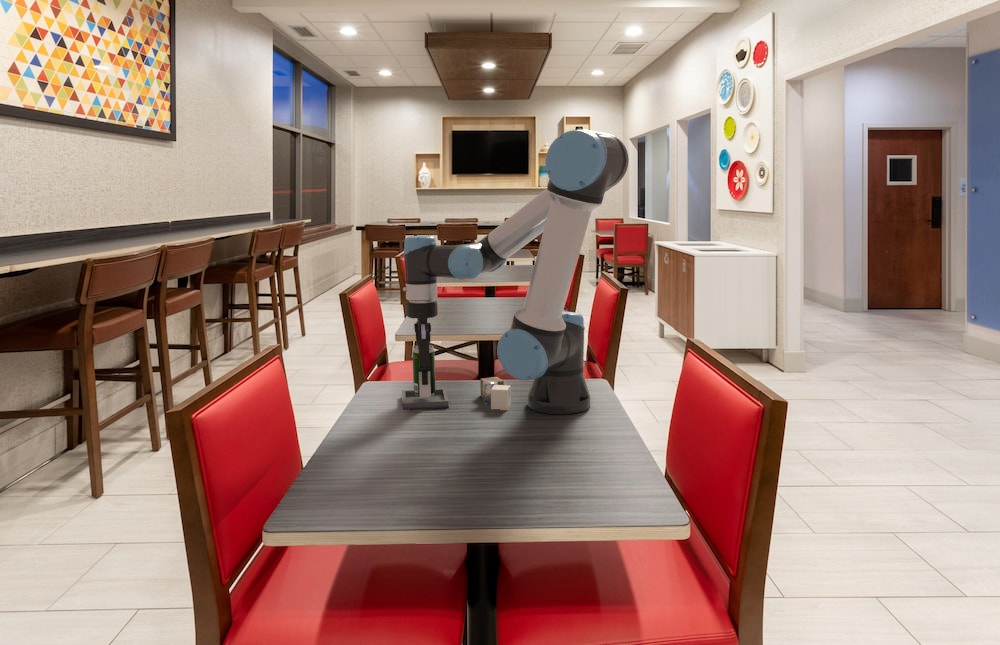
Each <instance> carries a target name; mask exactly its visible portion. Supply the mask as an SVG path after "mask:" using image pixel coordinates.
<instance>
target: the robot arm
mask: <svg viewBox="0 0 1000 645" xmlns="http://www.w3.org/2000/svg"><path fill="white" fill-rule="evenodd" d="M544 161H545V162H544V163H545V164H544V166H545V172H546V173H547V175H548V178H549V179H548V183H547V188H545V189H544V190H542V191H541V192H540V193H539V194H537V195H536V196H535V197H534V198H533V199H531V200H530V201H528V202H527V203H525V205H524V206H522V207H521V208H520V209H518V210H517V211H516V212H514V213H513V214H512V215H511V216H510V217H508V218H507V219H506V220H504V221H503V222H501V223H500V224H499V225H498V226H497V227H496V228H494V229H493V230H492V231H490V232H489V233H488V234H487V235H486V236H484V237H483V238H481V239H480V240H479V241H477V242H471V243H466V244H456V245H443V244H442V245H440V244H437V242H436V241H437V240H436V237H435V236H432V235H410V236H407V237H405V238H404V242H403V249H404V250H403V261H404V274H405V280H404V282H405V287H402V291H403V292H405V299H406V300H407V302H406V303H405V305H406V306H405V307H406V308H405V309H406V310H405V312H406V316H407V317H408V318H409V319H417V321H416V322H415V323H413V326H414V327H413V328H414V329H413V330H414V334H415V342H416V344H417V345H418V347H419V369H416V372H419V392H420V398H421V397H431V383H430V357H429V345H430V343H431V331H432V325H431V322H428V319H430V318H431V319H432V318H435V317H437V316H438V313H439V312H438V310H439V309H438V301H437V299H438V280H437V278H445V279H446V278H447V279H459V280H473V279H476V278H477V277H478V275H480V274H484V273H492V272H495V271H496V270H500V269H501V268H503V267H504V265H505V264H506V263H507V260H508V258H511V256H513V255H514V254H515V253H517V252H518V251H519V250H521V249H522V248H524V247H525V246H526V245H528V244H530V242H531V241H533V240H534V239H536V238H538V236H540V235H541V234H542V235H541V240H540V243H539V246H538V250H537V254H536V257H535V262H534V265H533V269H532V273H531V277H530V281H529V284H528V288H527V292H526V296H525V299H524V303H523V306H522V307H520V308H518V309H517V310H515V312H514V315H513V318H512V322H511V324H510V329H509V330H506V331H505V332H504V333H503V334H502V335H501V337H500V338H499V340H498V341H497V342H498V343H497V346H496V347H497V348H496V349H497V350H496V354H497V358H498V361H499V363H500V364H501V366H502V368H503V370H504V371H505V373H507V374H508V375H510V376H511V377H512V378H514V379H517V380H519V381H531V380H532V382H531V385H530V389H529V391H528V394H527V406H528V408H529V409H530V410H533V411H535V412H539V413H542V414H550V415H569V414H570V415H571V414H572V415H573V414H577V413H582V412H585V411H587V410H589V409H590V408H591V394H590V390H589V389H588V388H589V387H588V384H587V382H586V379H585V376H584V359H585V356H584V355H585V354H584V352H585V351H584V350H585V347H584V346H585V328H586V327H585V321H584V316H583V314H581V313H579V312H574V311H573V312H572V311H564V309H565V307H566V306H565V305H566V302H567V299H568V296H569V292H570V288H571V285H572V281H573V278H574V274H575V271H576V268H577V265H578V260H579V257H580V253H581V250H582V247H583V243H584V239H585V236H586V232H587V229H588V225H589V222H590V218H591V214H592V212H593V211H594V210H595V209H596V208H598V207H600V206H602V204H603V199H604V197H605V193H606V192H608V191H610V189H612V188H614V187H615V186H616V185H617V184H618V183H620V182H621V181H622V179H623V178H624V177H625V176H626V173H627V172H628V168H629V161H630V159H629V152H628V149H627V147H626V146H625V144H624V143H623V142H622V140H621V139H620V138H619V137H617V136H615V135H613V134H611V133H608V132H601V131H594V130H591V129H585V128H578V129H572V130H567V131H566V132H563V133H561V134H560V135H558V136H557V137H556V138H555V139H554V140H553V141H552V142H551V144H550V146H549V147H548V149H547V152H546V155H545V160H544Z"/></svg>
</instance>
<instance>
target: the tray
mask: <svg viewBox="0 0 1000 645" xmlns="http://www.w3.org/2000/svg"><path fill="white" fill-rule="evenodd" d="M401 393H402V394H401V396H402V397H401V398H402V399H401V401H402V402H401V403H402V410H403V411H405V410H423V409H424V410H425V409H440V408H441V409H442V408H444V409H446V408H449V406H450V404H449V397H448V393H447V389H446V387H445V388H443V387H442V388H436V391H435V394H434V395H433V396H431V397H421V398H420V397H418V396H416V395H415V393H414V389H408V390H407V389H406V390H405V389H404V390H401Z"/></svg>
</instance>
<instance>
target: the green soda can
mask: <svg viewBox="0 0 1000 645" xmlns="http://www.w3.org/2000/svg"><path fill="white" fill-rule="evenodd" d="M411 354H412V356H411V358H412V380H413V381H412V382H413V390H414V393H415V395H416V396H418V397H420V392H419V372H416V369H419V347H418V344H417V345H413V347H412V352H411ZM429 357H430V383H431V396H433V395H434V394H435V391H436V389H437V388H436V386H437V385H436V363H435V357H436V356H435V349H434V345H431V344H429Z"/></svg>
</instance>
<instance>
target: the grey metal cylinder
mask: <svg viewBox="0 0 1000 645" xmlns="http://www.w3.org/2000/svg"><path fill="white" fill-rule="evenodd" d="M494 385H498V382H496V381H484V382H483V397H482V402H484V403H487V404H486V405H491V389H492V387H493V386H494ZM484 403H483V404H484Z"/></svg>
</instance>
